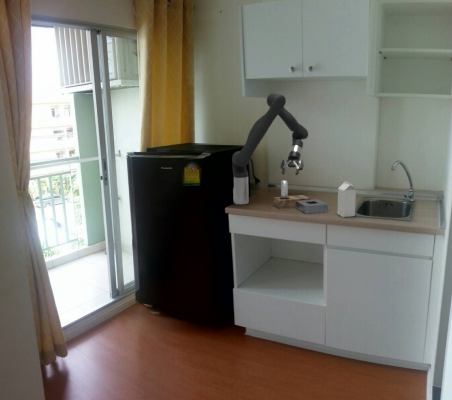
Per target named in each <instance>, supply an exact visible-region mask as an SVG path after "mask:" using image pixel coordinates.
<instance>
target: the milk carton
mask: <svg viewBox="0 0 452 400" xmlns="http://www.w3.org/2000/svg"><path fill="white" fill-rule="evenodd" d="M356 196H357V189H356V188H354V186H353V184H352V183H351V182H349V181H346V180H343V183H341V185H340V186H339V187H338V188H337V212H336V213H337V215H339V216H341V217H342V218H347V217H356V198H357V197H356Z"/></svg>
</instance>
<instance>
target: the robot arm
mask: <svg viewBox="0 0 452 400" xmlns="http://www.w3.org/2000/svg"><path fill="white" fill-rule="evenodd" d="M286 102H287V99H286V97H285V95H283V94H279V93H270V94H268V96H267V97H266V104H267V106H268V107H269V108H268V110H267V111H266V112H265V114H263V115H262V116H261V117H259V118H258V119H257V120H256V121H255V122H254V124H253V125H252V127H251V129H250V130H249V133H248V135H247V138H246V141H245V143H244V145H243V146H242V148H241V150H239V151H236V152H234V153H233V154H232V158H231V161H232V164H231V165H232V166H231V167H232V173H233V189H232V193H233V194H232V195H233V197H232V198H233V204H235V205H247V204H249V172H248V169H247V165H248V164H249V163H250V160H251V158H252V156H253V155H254V153H255V151H256V149H257V147H258V145H259V144H260V143H261V141H262V140H263V139H264V137H265V135H266V134H267V132H268V130H269V128H270V127H271V126H272V123H274V121H275V120H276V118H277V117H278V116H279V118H280V119H281V120H282V121H283V123H284V124H285V126H286V127H287V128H288V129H289V131H291V132H292V135H291V139H292V141H291V143H292V144H291V147H290V149H289V154H288V157H287V160H285V159H282V161H281V164H280V167H279V168H280V169H281V174H282V175H283V176H284V175H285V173H286V170H287V169H289V168H295V169H296V170H295V176H298V175H299V174H300V171H303V170H304V165H305V163H304V160H303V159H302V160H300V159H301V156H302V153H303V151H302V150H303V146H304V142H303V141H304V140H305V139H307V138H308V137H309V131H308V130H307V128H306V127H304V126H303V125H302V124H300V123H299V122H298V120H297V119H296V118H295V116H293V114H291V112H290V111H288V110H287V109H286V108H285V105H286ZM302 140H303V141H302ZM299 165H300V166H299Z"/></svg>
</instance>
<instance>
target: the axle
mask: <svg viewBox="0 0 452 400" xmlns="http://www.w3.org/2000/svg"><path fill="white" fill-rule="evenodd" d="M288 185H289V183H288V180H287V179H283V180H281V181H280V197H281V200H283V199H288V196H289V194H288V190H289V189H288Z"/></svg>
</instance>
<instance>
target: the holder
mask: <svg viewBox="0 0 452 400" xmlns="http://www.w3.org/2000/svg"><path fill="white" fill-rule="evenodd" d="M295 209H297V210H299V211H300V212H302V213H303V214H305V215H309V214H319V213H328V212H329V204H328V203H327V202H325V201H322V200H321V199H319V198H317V199H316V198H315V199H314V198H313V199H310V200H301V201H296V207H295Z"/></svg>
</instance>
